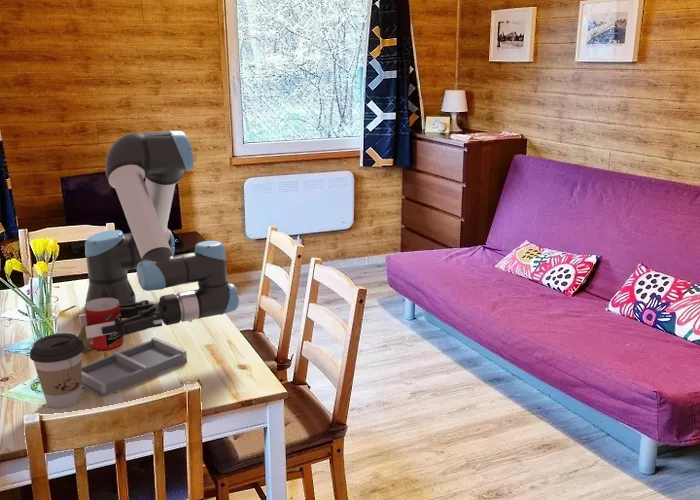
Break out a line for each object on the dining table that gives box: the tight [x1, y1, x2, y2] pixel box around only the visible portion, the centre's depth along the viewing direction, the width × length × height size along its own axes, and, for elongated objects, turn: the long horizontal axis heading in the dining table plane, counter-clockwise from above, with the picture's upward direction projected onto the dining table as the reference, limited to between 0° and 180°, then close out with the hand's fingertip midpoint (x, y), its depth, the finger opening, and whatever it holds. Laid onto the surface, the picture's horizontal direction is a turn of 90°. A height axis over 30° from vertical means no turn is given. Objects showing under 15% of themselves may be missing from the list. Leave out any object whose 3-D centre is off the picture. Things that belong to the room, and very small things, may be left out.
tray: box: [82, 337, 188, 398], centre depth 165 cm, size 14×24×3 cm, turn 141°
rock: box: [76, 325, 96, 354], centre depth 177 cm, size 11×9×10 cm
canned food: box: [84, 298, 124, 352], centre depth 157 cm, size 8×8×11 cm
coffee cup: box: [29, 332, 84, 410], centre depth 148 cm, size 11×11×15 cm
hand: (83, 326), depth 154 cm, fingers closed on canned food, 8 cm apart
